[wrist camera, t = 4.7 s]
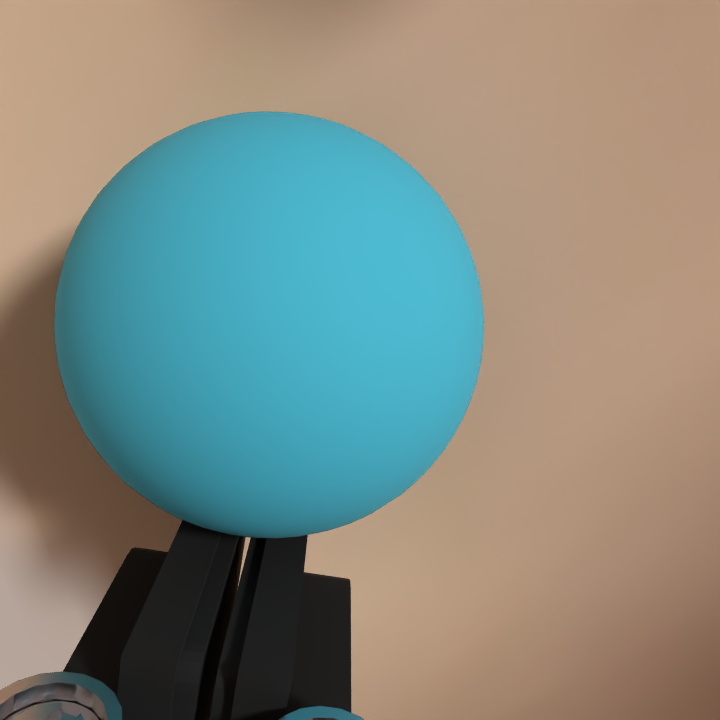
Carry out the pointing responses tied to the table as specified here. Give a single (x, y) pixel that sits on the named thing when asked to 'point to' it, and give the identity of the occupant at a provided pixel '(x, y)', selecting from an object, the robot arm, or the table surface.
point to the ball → (269, 324)
